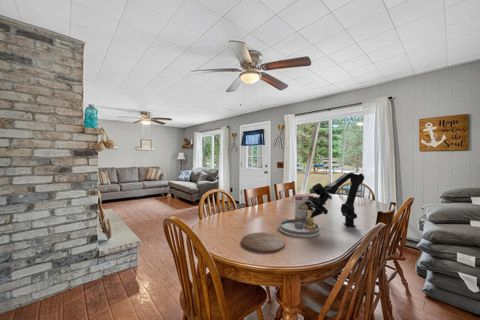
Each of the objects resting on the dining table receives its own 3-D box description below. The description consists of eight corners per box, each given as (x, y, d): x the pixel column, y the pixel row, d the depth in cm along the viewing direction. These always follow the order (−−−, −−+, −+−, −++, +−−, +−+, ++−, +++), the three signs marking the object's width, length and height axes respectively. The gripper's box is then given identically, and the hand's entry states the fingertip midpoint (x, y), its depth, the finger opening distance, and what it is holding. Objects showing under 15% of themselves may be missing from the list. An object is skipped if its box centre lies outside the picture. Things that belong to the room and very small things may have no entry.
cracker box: (294, 221, 158) (294, 194, 158) (295, 219, 164) (295, 193, 164) (313, 223, 154) (313, 195, 154) (313, 221, 160) (313, 194, 160)
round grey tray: (277, 222, 156) (277, 216, 156) (314, 223, 153) (314, 217, 153) (281, 236, 129) (281, 229, 129) (325, 237, 126) (325, 230, 126)
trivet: (235, 238, 126) (235, 235, 126) (271, 233, 134) (271, 230, 134) (252, 256, 102) (252, 253, 102) (293, 249, 111) (293, 245, 111)
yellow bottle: (306, 225, 145) (306, 208, 145) (316, 227, 141) (316, 210, 141) (303, 228, 139) (303, 211, 139) (314, 230, 135) (314, 212, 135)
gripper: (307, 189, 150) (293, 205, 147) (324, 194, 132) (309, 212, 129) (316, 199, 152) (303, 215, 149) (334, 205, 135) (320, 223, 131)
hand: (308, 216), depth 140 cm, fingers open, 5 cm apart
